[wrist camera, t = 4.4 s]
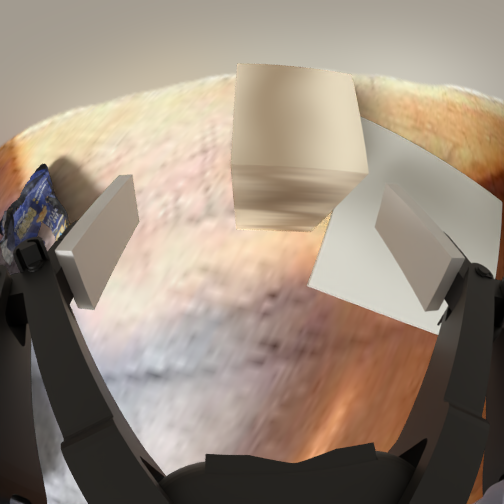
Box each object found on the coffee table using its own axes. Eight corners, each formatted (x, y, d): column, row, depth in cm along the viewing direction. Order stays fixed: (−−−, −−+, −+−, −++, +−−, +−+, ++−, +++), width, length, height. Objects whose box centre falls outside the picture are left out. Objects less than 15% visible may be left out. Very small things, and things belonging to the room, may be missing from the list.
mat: (498, 203, 25) (502, 201, 25) (475, 348, 23) (478, 348, 22) (358, 119, 26) (360, 116, 25) (306, 285, 23) (308, 285, 23)
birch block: (308, 160, 25) (350, 69, 13) (310, 231, 24) (368, 173, 12) (239, 157, 25) (237, 58, 13) (236, 229, 24) (230, 164, 12)
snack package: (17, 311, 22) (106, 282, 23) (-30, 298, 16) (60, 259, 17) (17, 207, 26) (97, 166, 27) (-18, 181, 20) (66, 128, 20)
